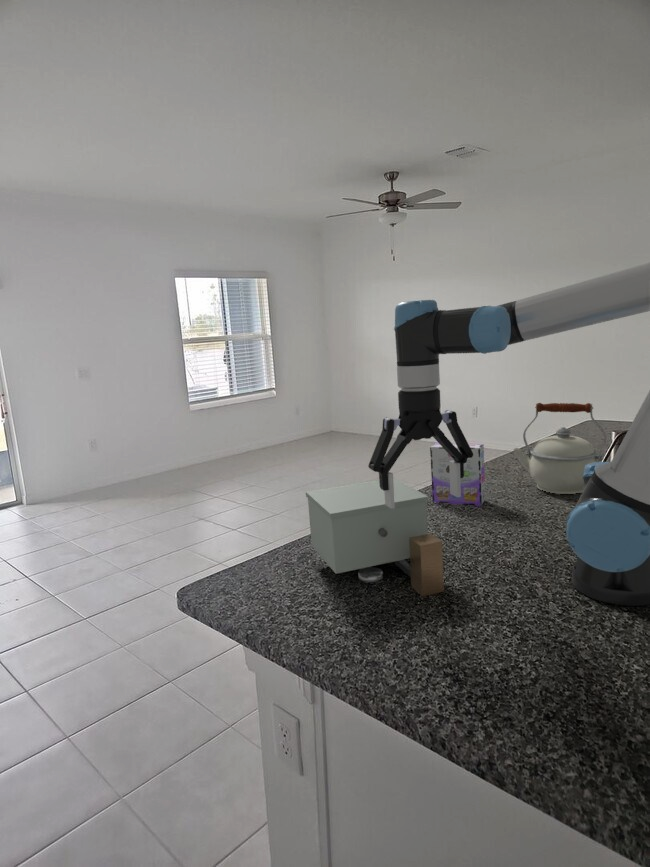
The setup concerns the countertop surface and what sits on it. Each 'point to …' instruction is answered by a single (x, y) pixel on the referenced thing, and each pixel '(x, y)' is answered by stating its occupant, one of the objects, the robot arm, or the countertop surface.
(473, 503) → the candy box
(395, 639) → the countertop surface
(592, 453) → the kettle
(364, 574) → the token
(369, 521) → the cabinet
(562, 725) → the countertop surface
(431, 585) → the block
